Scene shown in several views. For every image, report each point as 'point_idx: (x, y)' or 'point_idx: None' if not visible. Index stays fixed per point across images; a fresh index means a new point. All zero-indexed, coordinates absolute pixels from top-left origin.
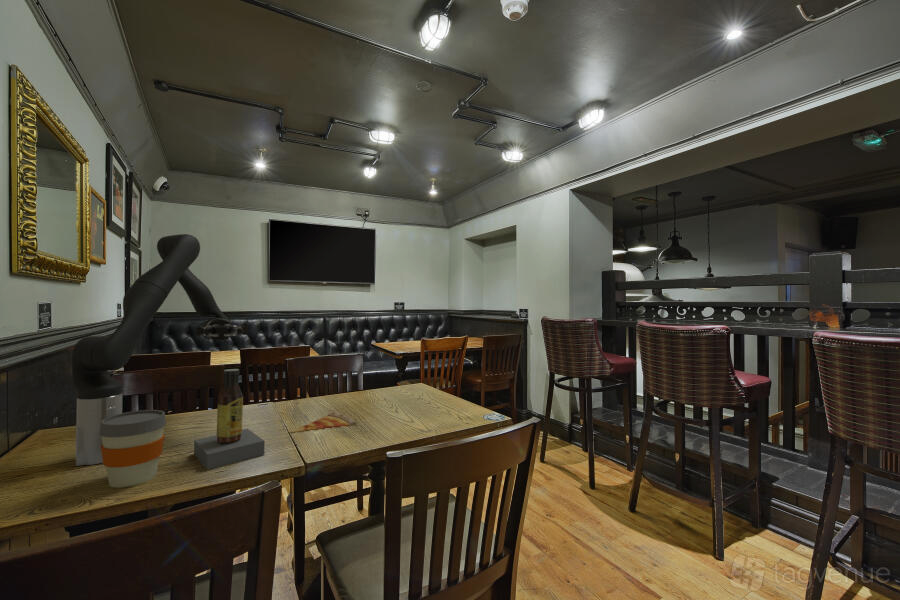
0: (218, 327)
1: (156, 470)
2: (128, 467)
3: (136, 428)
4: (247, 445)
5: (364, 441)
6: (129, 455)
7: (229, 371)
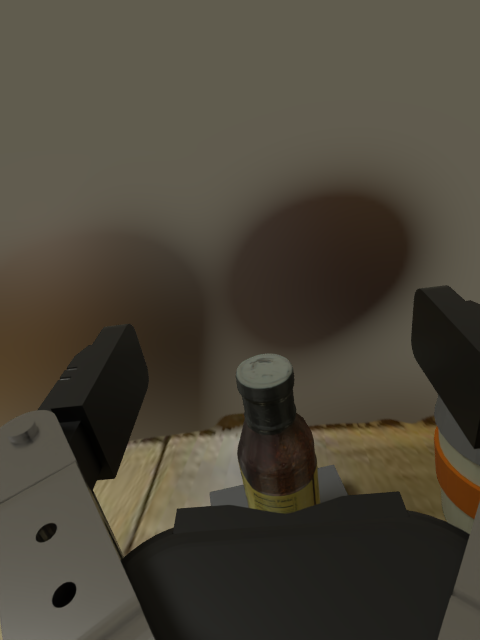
0: (366, 519)
1: (442, 502)
2: None
3: None
4: None
5: None
6: None
7: (272, 354)
